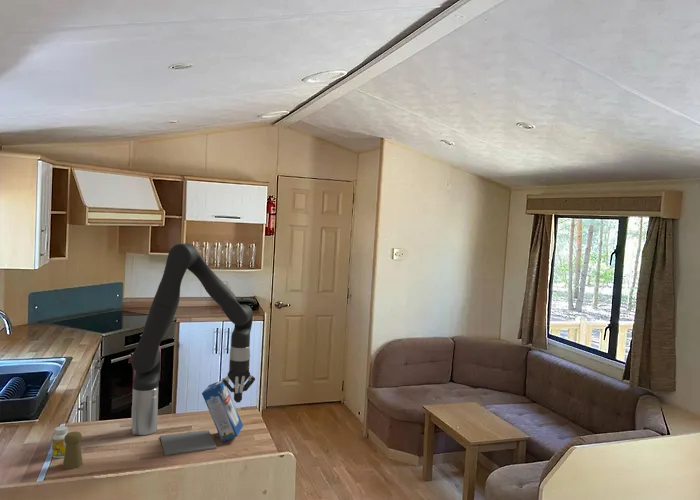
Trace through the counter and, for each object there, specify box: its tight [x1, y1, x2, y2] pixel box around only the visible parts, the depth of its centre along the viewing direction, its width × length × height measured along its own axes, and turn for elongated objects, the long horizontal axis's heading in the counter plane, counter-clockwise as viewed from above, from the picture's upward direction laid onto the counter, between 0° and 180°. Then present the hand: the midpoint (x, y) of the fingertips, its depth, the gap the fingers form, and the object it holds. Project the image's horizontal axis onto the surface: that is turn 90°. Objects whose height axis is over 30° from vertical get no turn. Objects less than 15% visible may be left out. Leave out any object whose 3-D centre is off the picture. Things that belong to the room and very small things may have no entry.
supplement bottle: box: [51, 425, 69, 459], centre depth 189 cm, size 5×5×10 cm
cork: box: [62, 431, 84, 470], centre depth 183 cm, size 6×6×11 cm
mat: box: [159, 429, 218, 456], centre depth 205 cm, size 18×16×1 cm
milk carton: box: [201, 379, 244, 443], centre depth 211 cm, size 10×6×20 cm, turn 178°
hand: (237, 401), depth 211 cm, fingers closed
